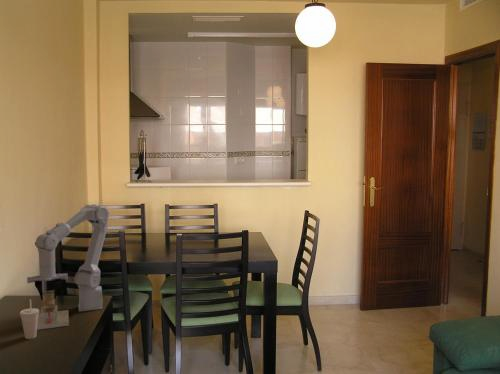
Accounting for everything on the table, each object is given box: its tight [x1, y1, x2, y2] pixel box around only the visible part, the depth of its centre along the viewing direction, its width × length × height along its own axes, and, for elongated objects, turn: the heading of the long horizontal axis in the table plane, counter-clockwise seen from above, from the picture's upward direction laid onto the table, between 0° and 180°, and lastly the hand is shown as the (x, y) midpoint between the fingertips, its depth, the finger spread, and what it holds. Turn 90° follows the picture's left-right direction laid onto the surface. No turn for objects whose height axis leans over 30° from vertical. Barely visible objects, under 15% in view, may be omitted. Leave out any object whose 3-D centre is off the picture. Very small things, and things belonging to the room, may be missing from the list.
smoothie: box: [19, 298, 40, 340], centre depth 167 cm, size 6×6×14 cm
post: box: [42, 290, 56, 311], centre depth 181 cm, size 4×4×8 cm
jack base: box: [37, 304, 70, 331], centre depth 181 cm, size 14×14×6 cm
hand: (48, 298), depth 181 cm, fingers closed on post, 4 cm apart
